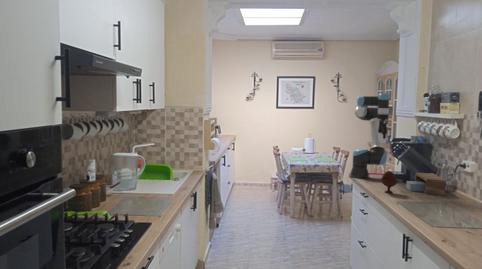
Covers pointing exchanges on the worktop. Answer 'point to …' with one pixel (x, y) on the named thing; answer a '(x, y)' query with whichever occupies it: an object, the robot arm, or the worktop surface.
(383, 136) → the robot arm
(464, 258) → the worktop surface
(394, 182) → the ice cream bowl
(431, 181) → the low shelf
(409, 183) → the grey slate tile
